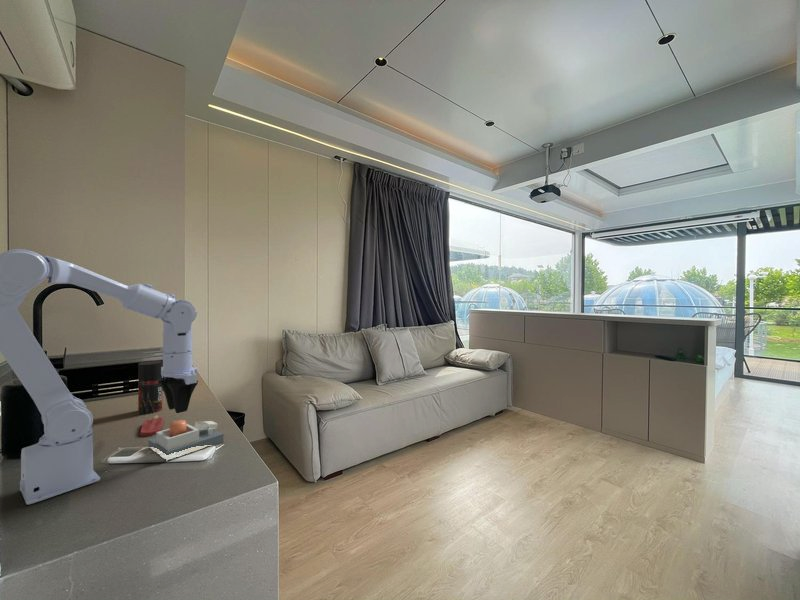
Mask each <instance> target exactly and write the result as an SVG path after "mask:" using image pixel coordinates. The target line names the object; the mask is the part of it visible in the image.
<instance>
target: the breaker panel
mask: <svg viewBox="0 0 800 600" xmlns="http://www.w3.org/2000/svg"><path fill="white" fill-rule="evenodd" d="M147 441H148V447H154V448H157V449H159V450H160V451H162V452H163V453H165V454H166V455H169V454H171V453H174V452H179V451H182V450H185V449H188V448H191V447H196V446H204V445H213V446H216V445H219V444H223V443H224V433H223V432H220V431H218V430H217V429H213V428H209V429H208V430H199V429H197V428H195V427H194V426H193V425H190V424H189V423H186V433H183V434H180V435H177V436H173V437H170V428H166V429H164V430H161V431H159V432H157V434H156V437H152V438H149V439H148V440H147Z"/></svg>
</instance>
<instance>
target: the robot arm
mask: <svg viewBox="0 0 800 600" xmlns="http://www.w3.org/2000/svg"><path fill="white" fill-rule="evenodd" d="M46 279H48V282H47V284H48V285H50V284H51V285H54V284H55V285H57V284H58V285H61V284H67V285H68V284H70V285H75V286H77V287H80V288H84V289H87V290H89V291H92V292H96V293H99V294H102V295H105V296H108V297H111V298H115V299H118V300H119V301H120V303H121V304H122V307H123V308H124V309H125V310H129V311H133V312H136V313H139V314H142V315H145V316H147V317H150V318H154V319H157V320H159V319H160V320H161V321H162V322H163V330H162V331H163V332H162V367H161V375H162V379H161V380H158V383H159V384H160V385H161V387H162V392H163V393H164V396H165V400H166V403H167V407H168V410H174V411H175V413H176V414H180V413H184V412H188V409H189V405H190V401H191V398H192V394H193V392H194V391H195V388H196V387H197V385H198V383H199V381H198V380H197V376H198V375H197V373H196V372H198V371H199V368H198V367H195V366H193V364H194V363H193V360H194V358H193V339H194V338H193V337H194V335H193V332H194V331H193V322H194V321H195V320H196V318H197V316H198V312H197V311H196V308H195V306H194V305H193V303H191V302H189V301H187V300H183V299H180V300H179V299H178V298H177V299H176V295H175V294H173V293H170V294H167V293H164V292H161V291H159V290H156V289H154V288H153V287H154V286H153V285H152V284H149V283H144V284H141V283H135V284H132V285H127V284H124V283H121V282H119V281H116V280H115V279H111V278H109V277H107V276H104V275H102V274H100V273H97V272H95V271H92V270H89V269H86V268H85V267H82V266H79V265H76V264H75V263H71V262H68V261H66V260H61V259H59V258H56V257H51V256H49V255H45V256H42V255H41V254H39V253H38V252H35V251H34V250H33V251H32V250H28V249H24V248H23V249H21V248H18V249H17V248H16V249H15V248H14V249H10V250H6V251H3V252H1V253H0V354H1V355H2V356H3V358H4V359H5V361H6V362H7V364H8V365H9V366H10V368H11V370H12V371H13V372H14V374H15V375H16V376H17V379H19V381H20V383H21V384H22V386H23V387H24V389H25V390H26V392H27V393H28V394H29V396H30V398H31V400H33V402H34V404H35V405H36V407H37V410H38V411H39V413H40V415H41V416H40V417H41V422H42V424H43V432H44V434H43V435H41V437H40V438H39V440H38V442H37V443H35V444H32V445H29V446H26V447H23V448H21V453H20V481H19V491H20V492H21V495H22V496H23V499H24V502H25V504H26V506H27V505H32V504H35V503H37V502H41V501H44V500H47V499H50V498H53V497H56V496H58V495H62V494H64V493H67V492H70V491H74V490H77V489H79V488H82V487H86V486H87V485H91V484H94V483H97V482H99V481H101V477H100V475H98V473H97V472H96V471H95V469H94V429H93V428H92V425H93V422H94V417H93V414H92V411H90V410H89V409H88V408H87V405H86V403H85V402H84V401H83V399H80V398H78V397H76V396H74V395H73V394H72V393H71V392H70V390H69V389H68V387H67V386H66V384H65V383H64V381H63V380H62V378H61V376H60V375H59V372H58V371H57V370H56V368H55V367H54V365H53V364H52V361H50V359H49V358H48V355H47V354H46V353H45V351H44V350H43V348H42V346H41V344H40V343H39V342H38V340H37V338H36V337H35V335H34V333H33V332H32V331H31V328H29V326H28V324H27V322H26V321H25V319H24V318H23V315H21V313H20V312H19V309H18V308H19V307H20V305H21V304H22V303H23V301H24V299H26V297H27V296H28V293H29V292H30V291H32V290H33V289H34V288H36V287H37V286H38V285H40V284H41V283H42V282H43V281H45V280H46ZM163 377H164V378H163Z"/></svg>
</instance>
